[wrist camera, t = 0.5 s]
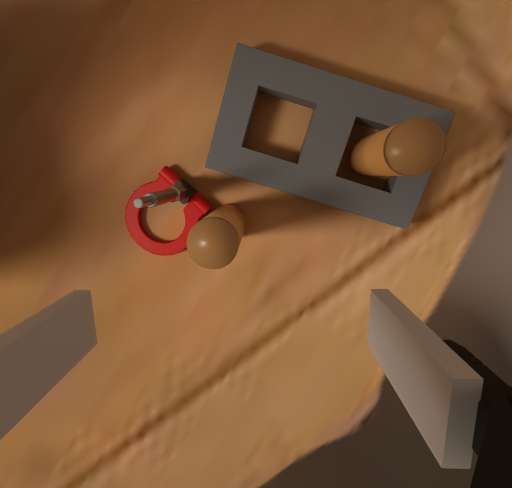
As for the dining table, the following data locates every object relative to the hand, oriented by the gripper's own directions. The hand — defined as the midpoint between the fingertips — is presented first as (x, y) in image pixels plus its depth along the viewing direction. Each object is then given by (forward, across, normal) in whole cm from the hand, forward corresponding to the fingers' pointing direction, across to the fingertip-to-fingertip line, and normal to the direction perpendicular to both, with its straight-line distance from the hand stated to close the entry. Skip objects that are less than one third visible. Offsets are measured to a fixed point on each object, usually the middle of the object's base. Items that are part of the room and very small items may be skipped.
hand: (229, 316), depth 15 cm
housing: (+22, +8, +10) cm, 25 cm away
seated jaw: (+22, +13, +8) cm, 27 cm away
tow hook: (+23, -10, +2) cm, 25 cm away
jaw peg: (+22, -3, +1) cm, 22 cm away
